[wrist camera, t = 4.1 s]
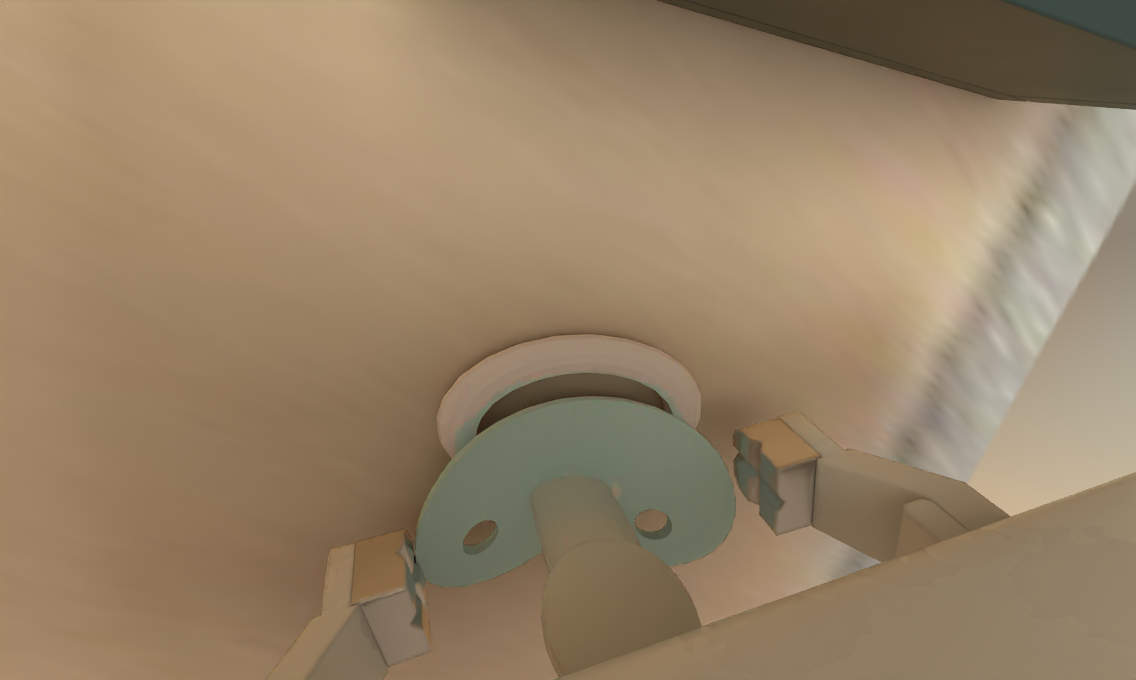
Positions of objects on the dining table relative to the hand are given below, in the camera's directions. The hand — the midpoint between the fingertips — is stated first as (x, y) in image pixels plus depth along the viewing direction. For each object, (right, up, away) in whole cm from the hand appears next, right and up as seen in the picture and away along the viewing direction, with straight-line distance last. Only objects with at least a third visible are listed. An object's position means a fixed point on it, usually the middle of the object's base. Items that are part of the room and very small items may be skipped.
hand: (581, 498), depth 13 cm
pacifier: (0, +1, +2) cm, 2 cm away
